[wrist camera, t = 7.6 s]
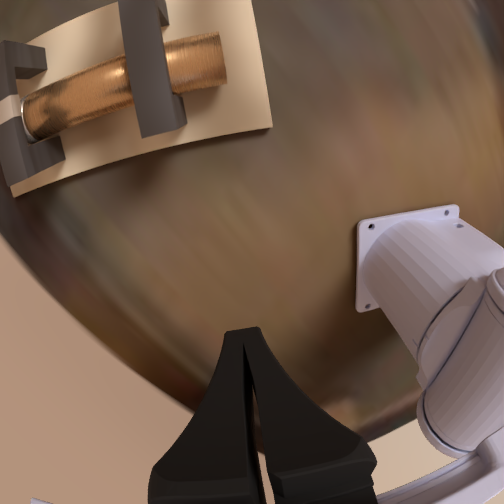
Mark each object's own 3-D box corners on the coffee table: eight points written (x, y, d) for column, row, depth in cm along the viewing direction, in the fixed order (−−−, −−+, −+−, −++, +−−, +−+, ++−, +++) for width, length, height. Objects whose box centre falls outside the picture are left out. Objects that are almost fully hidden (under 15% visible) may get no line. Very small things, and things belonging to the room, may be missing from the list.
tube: (216, 27, 13) (220, 35, 11) (224, 75, 15) (229, 92, 14) (4, 104, 13) (-19, 127, 11) (21, 141, 15) (2, 166, 13)
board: (244, -23, 13) (254, -61, 8) (271, 126, 17) (290, 134, 13) (-9, 69, 12) (-56, 70, 8) (17, 195, 17) (-25, 223, 12)
